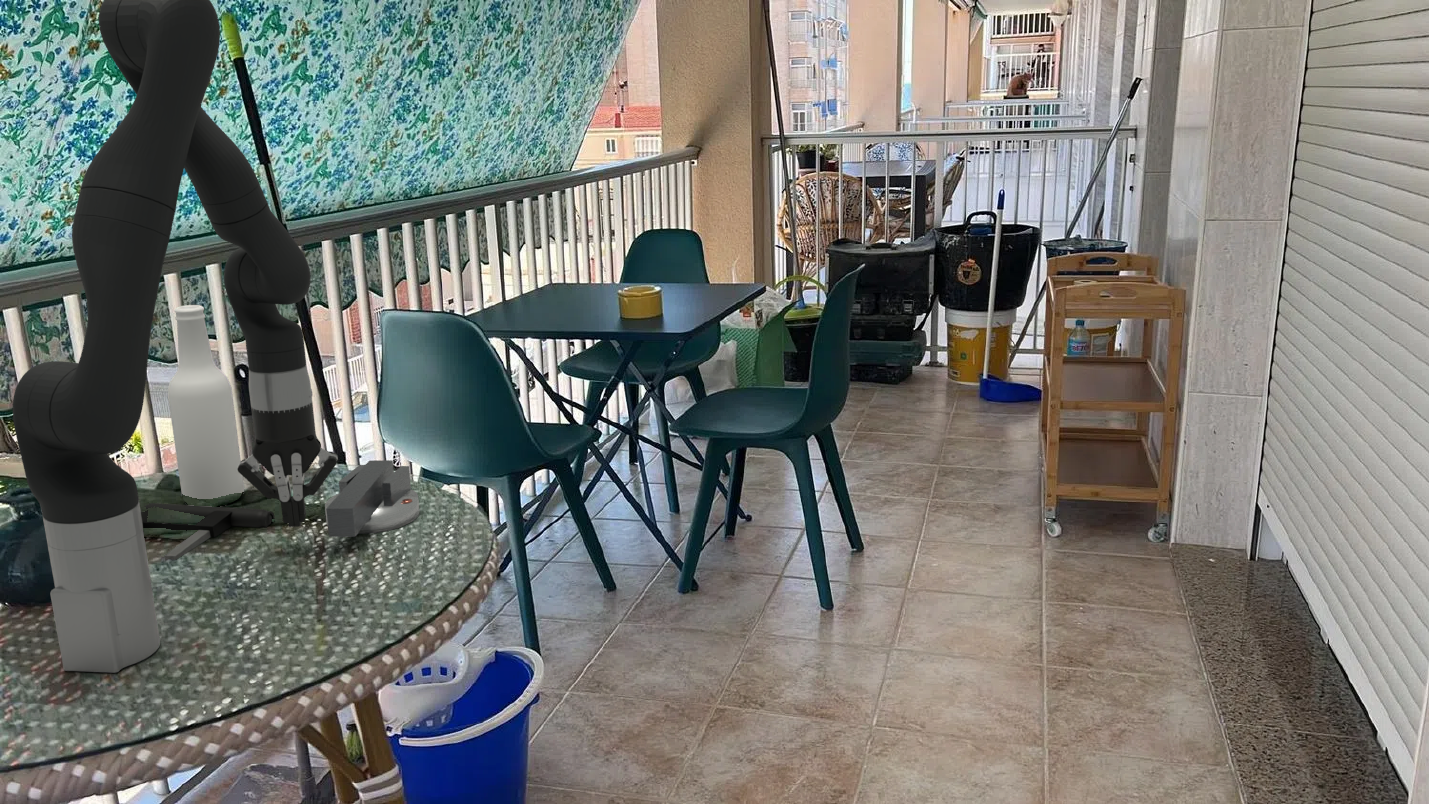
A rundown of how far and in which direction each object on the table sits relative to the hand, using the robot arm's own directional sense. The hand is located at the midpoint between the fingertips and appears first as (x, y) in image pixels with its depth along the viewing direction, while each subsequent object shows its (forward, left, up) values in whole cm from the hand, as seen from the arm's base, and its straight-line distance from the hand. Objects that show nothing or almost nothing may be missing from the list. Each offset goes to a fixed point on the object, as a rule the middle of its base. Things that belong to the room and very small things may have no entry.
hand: (295, 524), depth 152 cm
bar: (+9, -6, -1) cm, 11 cm away
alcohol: (+20, +23, -4) cm, 30 cm away
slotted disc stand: (+13, -5, -4) cm, 14 cm away
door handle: (+4, +18, -5) cm, 19 cm away
